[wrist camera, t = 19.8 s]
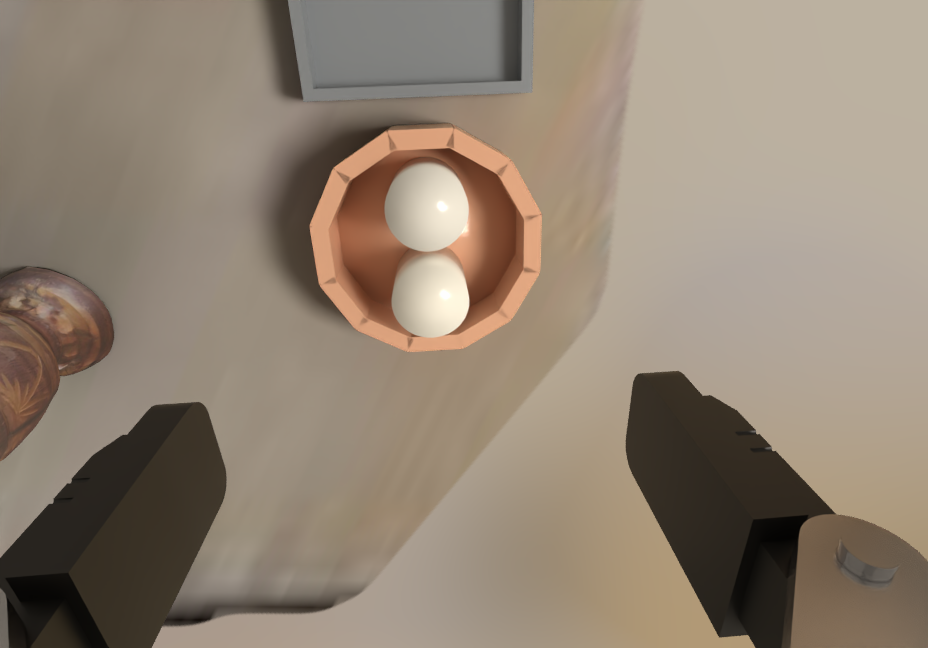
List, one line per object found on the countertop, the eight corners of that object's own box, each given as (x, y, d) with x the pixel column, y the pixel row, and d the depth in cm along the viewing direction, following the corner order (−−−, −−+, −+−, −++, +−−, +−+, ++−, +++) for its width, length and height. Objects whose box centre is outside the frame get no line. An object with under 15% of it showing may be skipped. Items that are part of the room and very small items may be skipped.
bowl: (310, 129, 29) (294, 134, 26) (530, 119, 30) (544, 123, 26) (341, 329, 35) (331, 356, 31) (526, 318, 36) (537, 344, 32)
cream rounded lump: (392, 245, 32) (387, 268, 28) (462, 240, 32) (467, 263, 28) (399, 309, 34) (395, 340, 29) (465, 304, 34) (470, 334, 30)
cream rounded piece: (386, 158, 29) (380, 169, 25) (461, 155, 30) (467, 165, 26) (393, 232, 31) (388, 253, 27) (464, 228, 32) (469, 249, 27)
